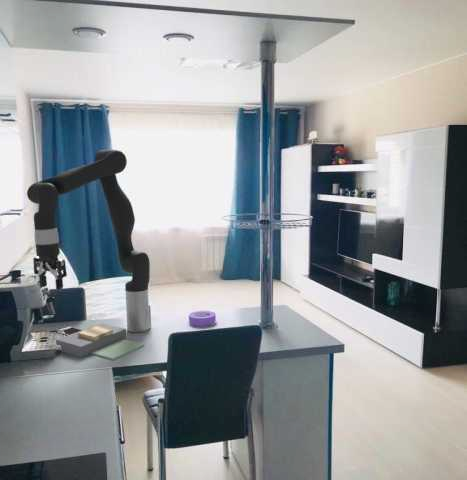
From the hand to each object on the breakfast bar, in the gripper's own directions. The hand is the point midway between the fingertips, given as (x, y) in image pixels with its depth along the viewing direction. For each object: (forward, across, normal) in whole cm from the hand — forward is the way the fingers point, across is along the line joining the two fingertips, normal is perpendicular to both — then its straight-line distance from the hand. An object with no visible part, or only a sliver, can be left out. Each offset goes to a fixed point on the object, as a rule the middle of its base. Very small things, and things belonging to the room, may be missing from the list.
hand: (51, 287), depth 162 cm
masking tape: (+28, -21, -59) cm, 69 cm away
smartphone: (+27, +18, -22) cm, 39 cm away
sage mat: (+26, -12, -17) cm, 34 cm away
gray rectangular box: (+26, 0, -16) cm, 31 cm away
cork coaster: (+22, -2, -16) cm, 28 cm away
